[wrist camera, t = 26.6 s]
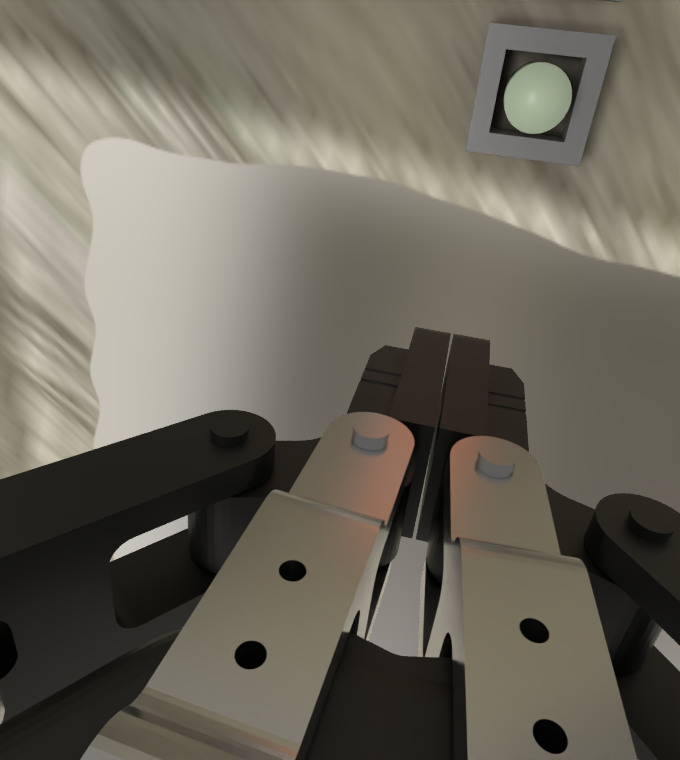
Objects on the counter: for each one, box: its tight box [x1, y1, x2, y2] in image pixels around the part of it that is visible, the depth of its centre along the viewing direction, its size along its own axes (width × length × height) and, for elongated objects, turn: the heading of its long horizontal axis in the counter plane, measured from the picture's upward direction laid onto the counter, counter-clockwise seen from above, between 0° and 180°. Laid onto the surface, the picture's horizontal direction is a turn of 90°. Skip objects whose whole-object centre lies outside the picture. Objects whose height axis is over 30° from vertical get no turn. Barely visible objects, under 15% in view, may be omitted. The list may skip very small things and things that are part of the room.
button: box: [504, 61, 572, 134], centre depth 41 cm, size 4×4×4 cm
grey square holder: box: [465, 23, 616, 166], centre depth 42 cm, size 8×8×3 cm
